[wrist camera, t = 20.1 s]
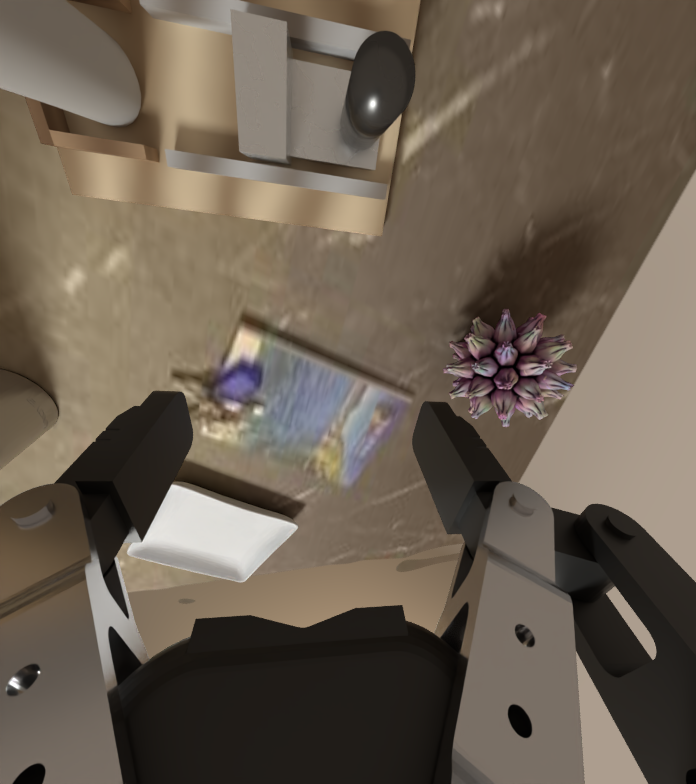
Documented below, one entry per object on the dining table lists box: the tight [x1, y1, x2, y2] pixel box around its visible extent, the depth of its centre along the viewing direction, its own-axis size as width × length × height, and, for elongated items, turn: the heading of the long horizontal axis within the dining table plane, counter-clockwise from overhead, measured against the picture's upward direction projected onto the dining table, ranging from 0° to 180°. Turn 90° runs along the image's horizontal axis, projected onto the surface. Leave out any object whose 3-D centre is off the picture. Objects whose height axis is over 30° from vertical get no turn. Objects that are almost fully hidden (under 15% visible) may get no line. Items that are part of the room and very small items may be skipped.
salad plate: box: [127, 482, 298, 582], centre depth 49 cm, size 21×21×3 cm
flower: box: [443, 309, 577, 427], centre depth 30 cm, size 12×12×12 cm
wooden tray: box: [25, 0, 421, 236], centre depth 20 cm, size 25×14×4 cm, turn 83°
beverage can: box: [0, 0, 141, 127], centre depth 15 cm, size 5×5×12 cm
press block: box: [230, 9, 415, 171], centre depth 17 cm, size 10×6×10 cm, turn 83°
